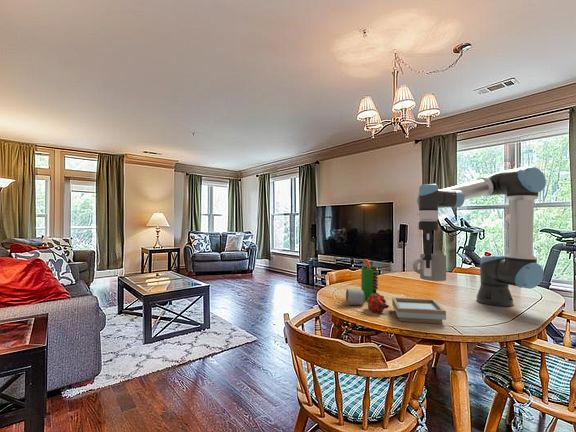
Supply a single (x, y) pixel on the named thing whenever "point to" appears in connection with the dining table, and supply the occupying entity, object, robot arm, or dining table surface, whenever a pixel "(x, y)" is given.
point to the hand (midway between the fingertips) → (427, 274)
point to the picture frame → (419, 310)
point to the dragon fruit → (376, 302)
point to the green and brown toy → (369, 279)
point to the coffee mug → (432, 267)
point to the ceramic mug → (355, 297)
